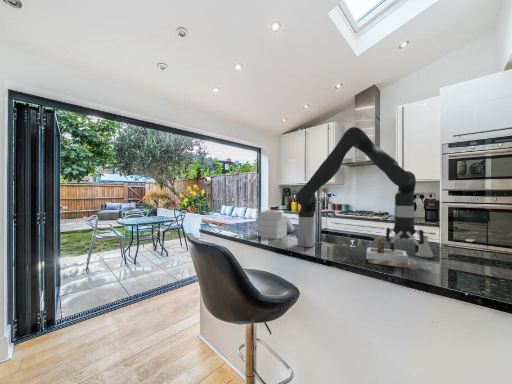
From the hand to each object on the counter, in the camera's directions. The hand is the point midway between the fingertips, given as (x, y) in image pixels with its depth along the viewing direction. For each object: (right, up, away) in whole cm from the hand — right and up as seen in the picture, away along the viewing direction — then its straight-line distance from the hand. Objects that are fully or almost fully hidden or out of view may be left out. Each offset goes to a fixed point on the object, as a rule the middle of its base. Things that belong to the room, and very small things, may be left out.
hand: (404, 251), depth 105 cm
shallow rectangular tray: (-6, -4, +3) cm, 8 cm away
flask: (+17, -5, +11) cm, 21 cm away
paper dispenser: (-51, -5, +69) cm, 86 cm away
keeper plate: (-6, -5, +3) cm, 8 cm away
